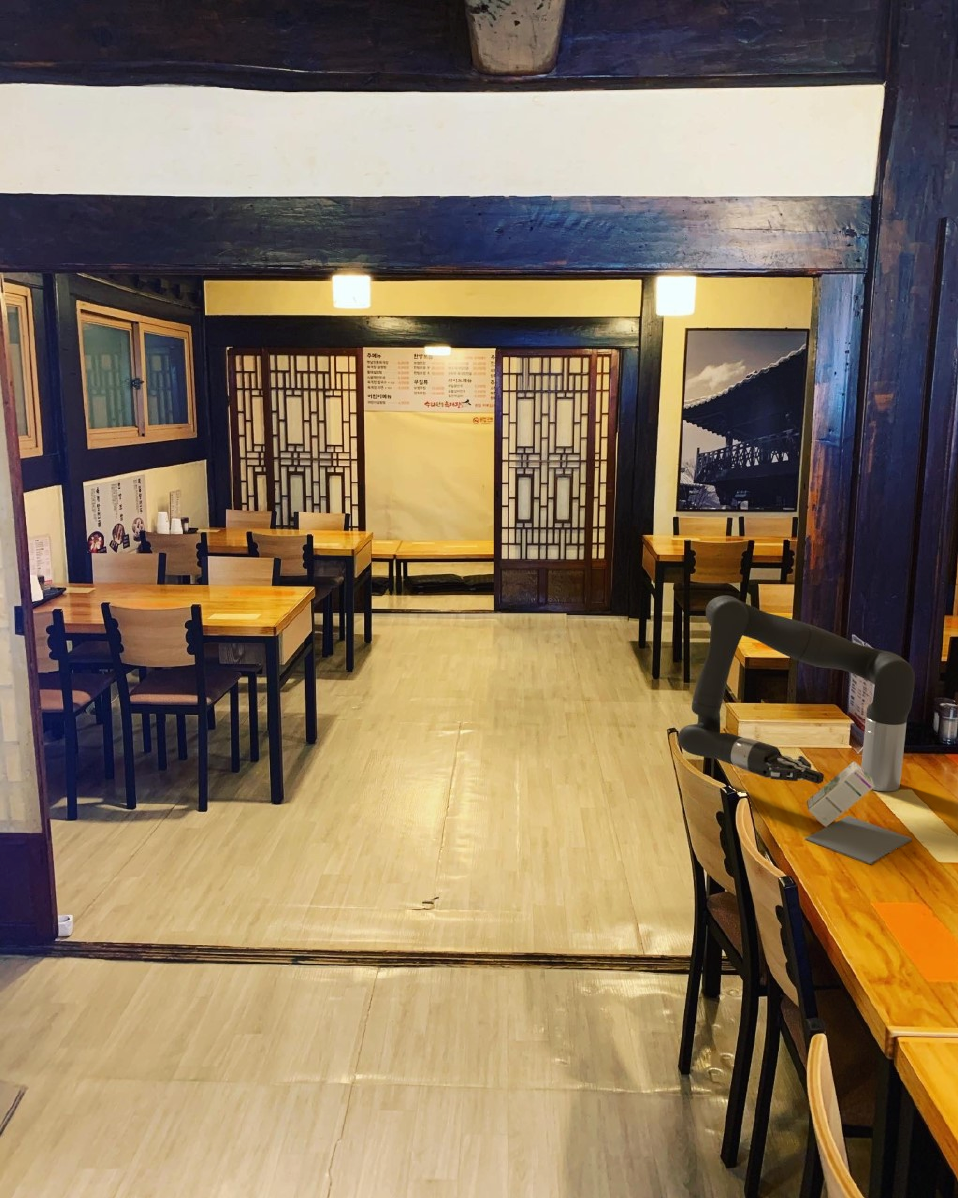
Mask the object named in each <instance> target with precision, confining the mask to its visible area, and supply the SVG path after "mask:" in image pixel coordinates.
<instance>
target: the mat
mask: <svg viewBox="0 0 958 1198" xmlns="http://www.w3.org/2000/svg"><path fill="white" fill-rule="evenodd" d="M804 839H805V841H807V842H809V843H812V844H815V845H818V846H821V847H823V848H825V849H828V848H829V849H828V850H830V849H831V851H833V852H836V853H838V852H839V854H840V855H841V854H842V855H843V854H845V855H844V856H846V855H847V857H849V858H851V857H852V859H854V860H857V861H860V862H862V863H864V862H866V863H865V864H867V863H868V864H867V865H869V864H871V865H873V864H874V863H876V862H878V861H879V860H881V859H882V857H883V856H884V857H886V856H887V855H886V854H888V853H889V854H891V853H892V851H893V850H894V851H896V850H897V849H896V848H898V849H899V848H901V847H902V846H904V845H906V844H907V843H910V842H911V841H912V840H913V838H912V837H909V836H907V835H903V834H900V833H897V832H895V831H892V830H890V829H886V828H884V827H881V826H879V825H875V824H872V823H870V822H866V821H864V820H862V819H858V818H855V817H853V816H849V815H848V816H845V817H843V818H841V819H839V820H837V821H836V822H834V823H833V822H832V823H831V824H829V825H828V826H827V827H824V828H822V829H821V830H818V831H816V832H815V833H812V834H810V835H808V836H807V837H804ZM895 849H896V850H895ZM894 851H893V852H894ZM890 852H891V853H890ZM889 854H888V855H889ZM885 855H886V856H885ZM884 857H883V858H884ZM880 858H881V859H880ZM875 861H876V862H875ZM873 862H874V863H873Z"/></svg>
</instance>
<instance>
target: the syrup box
mask: <svg viewBox="0 0 958 1198" xmlns="http://www.w3.org/2000/svg"><path fill="white" fill-rule="evenodd" d="M874 787H875V786H874V783H873V781H872V778H871V777H870V775H869V774H868V773H867V772H866V771H865V770H864V769H863V768H862V767H861V765H859V763H857V762H856V761H855V760H854V761H852V762H851V763H850V764H849V765H848V766H846V767H845V768H844V769H843V770H841V771H840V772H839V773H838V774H837V775H835V776H834V777H833V778H832V779H831V780H830V781H828V782H827V783H826V784H825V785H823V786H822V787H821V788H820V789H819V790H818V791H817V792H816V793H814V794H813V795H812V796H811V797H809V799H807V800H806V804H807V810H808V812H809V813H810V814H811V815H812V816H813V817H814V818H815V819H816V820H817V821H818V822H819V823H820V824H822V826H824V828H826V827H828V826H830V825H831V824H833V822H834V821H835V820H837V819H838V818H839V817H840V816H841V815H843V814H845V812H847V811H848V810H850V808H851V807H852V806H853V805H855V804H856V803H857V802H858V801H859V800H861V799H862V798H863V797H864V796H866V794H868V793H869V792H870V791H871V790H873V788H874Z"/></svg>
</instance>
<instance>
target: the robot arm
mask: <svg viewBox="0 0 958 1198" xmlns="http://www.w3.org/2000/svg"><path fill="white" fill-rule="evenodd" d="M705 618H706V620H707V623H708V624H709V626H710V628H711V631H710V641H709V648H708V651H707V655H706V659H705V662H703V665H702V667H701V670H700V674H699V675H698V679H697V682H696V685H695V689H694V692H693V693H694V694H693V698H692V702H691V711H692V712H693V713H694V714H695V715H697V723H696V724H689V725H686V726H684V727H682V729H680V730H679V733H678V736H677V739H678V743H679V745H680V747H681V748H682V750H684V752H686V753H689V754H691V755H693V756H698V757H703V758H708V759H713V760H714V759H715V760H719V761H720V762H724V763H726V764H730V765H732V766H735V767H737V768H739V769H740V770H744V771H746V772H748V773H752V774H755V775H758V776H760V777H764V778H768V779H769V778H770V780H775V781H776V780H778V781H788V782H789V781H791V782H798V781H799V780H800V781H804V780H806V781H809V782H810V783H811V782H812V783H814V784H817V785H819V784H822V783H824V778H825V774H824V773H823V772H821V771H818V770H815V769H812V764H811V763H810V762H809V761H808V760H807V759H806V758H805V757H804V756H803V755H798V757H797V759H793V757H791V756H788V755H783V754H782V753H781V751H780V749H779V748H778V747H777V746H774V745H771V744H769V743H765V742H762V741H759V740H756V739H752V738H747V737H743V736H739V735H737V734H733V733H729V732H721V709H722V705H723V701H724V697H725V693H726V688H727V683H728V680H729V679H728V678H729V675H730V670H731V668H732V664H733V661H734V657H735V654H736V652H737V649H738V646H739V645H740V642H741V639H742V637H746V638H749V639H753V640H755V641H758V642H759V643H761V644H763V645H765V646H766V647H768V648H771V649H772V650H774V651H776V652H778V653H780V654H782V655H784V656H786V657H789V658H790V659H793V660H796V661H798V662H802V663H803V664H807V665H810V666H814V667H817V668H825V669H831V670H833V669H834V670H841V671H845V672H848V673H850V674H851V675H852V674H853V675H855V676H858V677H859V678H862V679H864V680H866V681H867V682H870V683H871V684H872V685H873V694H872V701H871V703H869V704H868V705H867V708H866V715H865V725H864V726H865V727H864V733H863V734H864V735H863V745H862V755H861V765H860V766H861V767H862V768H863V769H864V770H865V771H866V772H867V773H868V774H869V775H870V777H871V778H872V781H873V783H874V786H875V787H874V788H873V789H872V790H874V791H876V792H877V791H878V792H879V791H880V792H894V791H898V790H899V789H900V784H901V778H902V771H903V770H902V768H903V760H904V751H905V750H904V748H905V741H906V730H907V722H908V721H907V719H908V715H909V713H910V712H911V709H912V706H913V705H912V704H913V699H914V691H915V683H916V677H915V676H916V674H915V671H914V669H913V666H912V665H911V664H910V663H909V662H908V661H906V660H905V659H904V658H903V657H901V656H900V655H898V654H896V653H894V652H891V651H886V650H884V649H883V650H881V649H878V648H874V647H871V646H865V645H863V644H862V645H861V644H859V643H855V642H853V641H851V640H848V639H847V638H844V637H842V636H840V635H838V634H836V633H834V632H830V631H828V630H826V629H823V628H821V627H817V626H815V625H812V624H811V623H807V622H806V623H805V622H802V621H800V620H796V619H793V618H790V617H785V616H782V615H777V614H774V613H769V612H765V611H764V610H761V609H758V608H757V607H755V606H752V605H750V604H747V603H746V602H744V601H741V600H740V599H738V598H736V597H734V596H731V595H720V596H719V595H718V596H717V597H714V598H712V599H711V600H710V601H709V602H708V604H707V605H706V608H705Z"/></svg>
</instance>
